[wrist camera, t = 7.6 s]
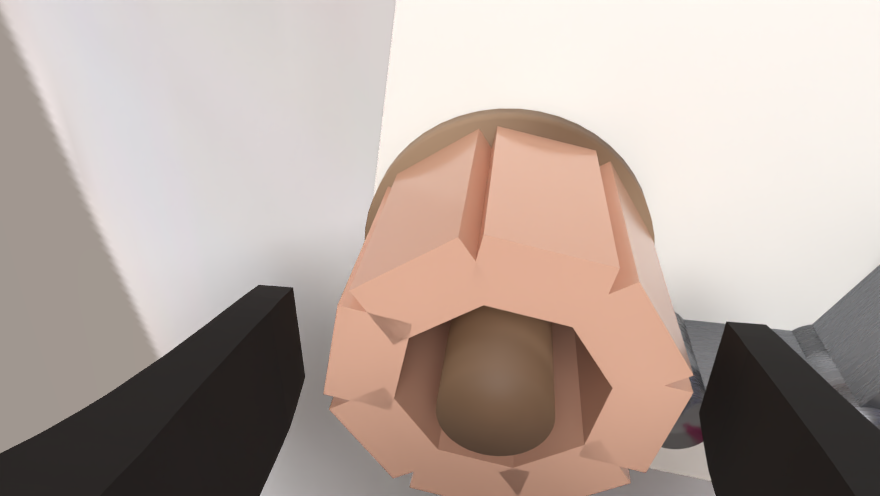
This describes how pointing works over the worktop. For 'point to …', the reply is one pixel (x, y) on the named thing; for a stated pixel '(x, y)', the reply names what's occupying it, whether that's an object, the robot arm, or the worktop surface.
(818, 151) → the board
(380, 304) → the ring
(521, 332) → the peg
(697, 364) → the grey mechanical part
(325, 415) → the worktop surface
